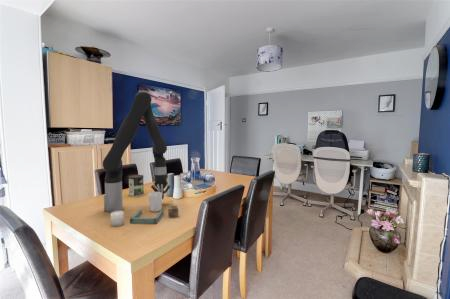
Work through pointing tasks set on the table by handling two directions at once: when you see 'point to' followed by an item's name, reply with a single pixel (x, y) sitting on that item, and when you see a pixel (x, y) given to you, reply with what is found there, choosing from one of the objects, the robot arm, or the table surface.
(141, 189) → the coffee can
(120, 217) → the white rounded block
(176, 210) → the walnut block
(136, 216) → the display frame
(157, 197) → the white cup
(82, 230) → the table surface
